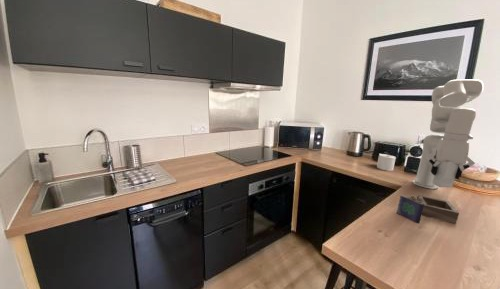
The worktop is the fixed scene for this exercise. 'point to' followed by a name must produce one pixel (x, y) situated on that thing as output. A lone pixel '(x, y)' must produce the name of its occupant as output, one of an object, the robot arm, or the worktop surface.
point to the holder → (438, 209)
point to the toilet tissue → (386, 162)
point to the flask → (410, 208)
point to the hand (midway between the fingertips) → (444, 175)
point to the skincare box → (445, 174)
